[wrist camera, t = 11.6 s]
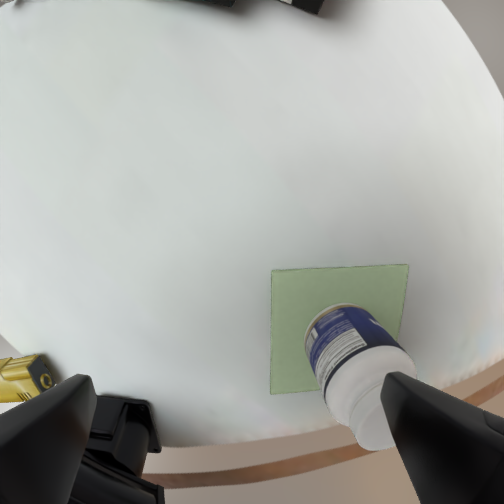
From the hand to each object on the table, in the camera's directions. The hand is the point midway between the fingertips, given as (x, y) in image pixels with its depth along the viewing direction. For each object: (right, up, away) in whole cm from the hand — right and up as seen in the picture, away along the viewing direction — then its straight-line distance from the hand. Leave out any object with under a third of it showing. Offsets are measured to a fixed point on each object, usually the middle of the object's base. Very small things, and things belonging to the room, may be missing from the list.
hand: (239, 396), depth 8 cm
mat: (+7, -2, +14) cm, 16 cm away
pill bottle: (+7, -2, +14) cm, 15 cm away
